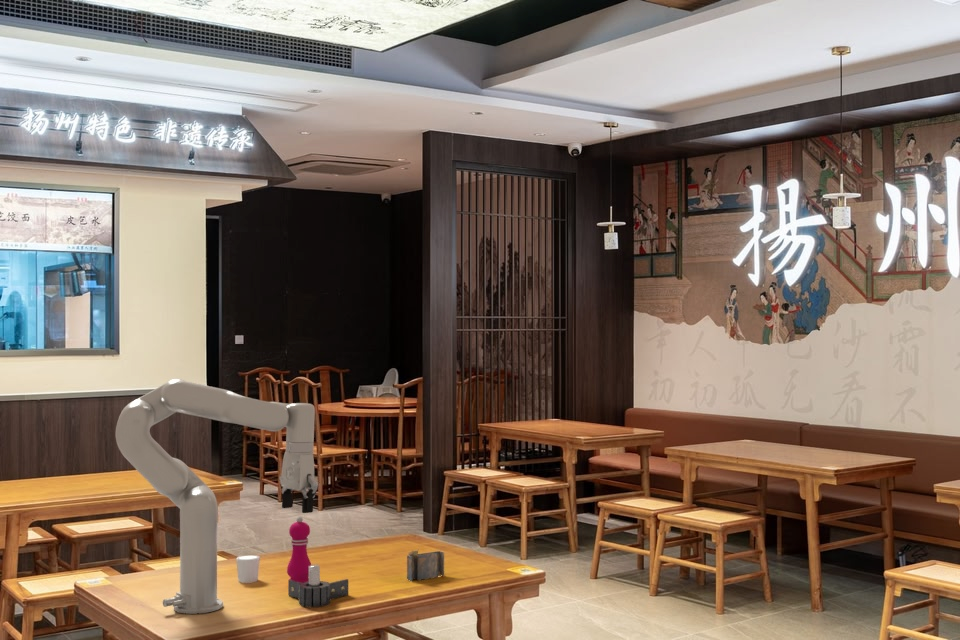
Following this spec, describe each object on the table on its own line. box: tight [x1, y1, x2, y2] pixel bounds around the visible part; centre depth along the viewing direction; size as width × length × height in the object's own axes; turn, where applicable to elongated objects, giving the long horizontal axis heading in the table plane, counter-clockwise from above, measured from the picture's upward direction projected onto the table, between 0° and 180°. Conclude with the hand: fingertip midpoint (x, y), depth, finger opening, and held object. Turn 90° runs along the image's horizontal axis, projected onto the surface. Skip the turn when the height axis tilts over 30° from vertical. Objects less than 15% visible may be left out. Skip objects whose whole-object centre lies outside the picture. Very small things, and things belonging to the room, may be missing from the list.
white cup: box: [235, 554, 261, 584], centre depth 289 cm, size 7×7×7 cm
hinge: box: [287, 578, 349, 608], centre depth 269 cm, size 16×16×5 cm
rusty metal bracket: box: [406, 549, 445, 582], centre depth 291 cm, size 11×3×10 cm, turn 123°
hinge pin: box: [309, 564, 321, 587], centre depth 264 cm, size 3×3×10 cm
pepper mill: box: [286, 516, 312, 583], centre depth 283 cm, size 7×7×20 cm
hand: (297, 510), depth 267 cm, fingers open, 9 cm apart
